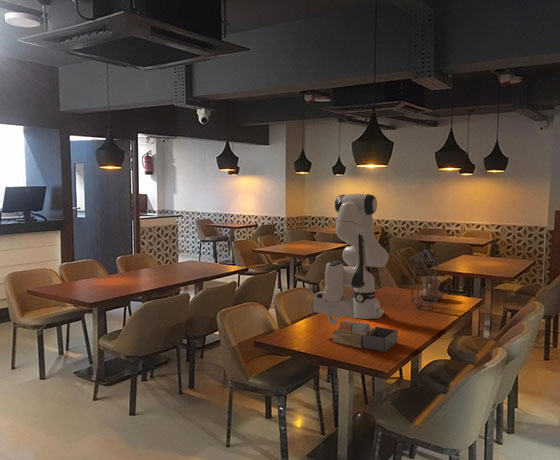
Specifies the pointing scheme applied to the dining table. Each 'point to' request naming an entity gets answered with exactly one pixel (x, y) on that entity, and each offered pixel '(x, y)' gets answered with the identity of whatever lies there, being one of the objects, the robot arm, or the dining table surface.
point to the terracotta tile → (346, 325)
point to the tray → (380, 339)
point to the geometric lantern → (427, 277)
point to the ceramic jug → (424, 292)
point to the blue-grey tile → (361, 328)
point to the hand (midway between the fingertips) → (333, 323)
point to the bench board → (349, 337)
